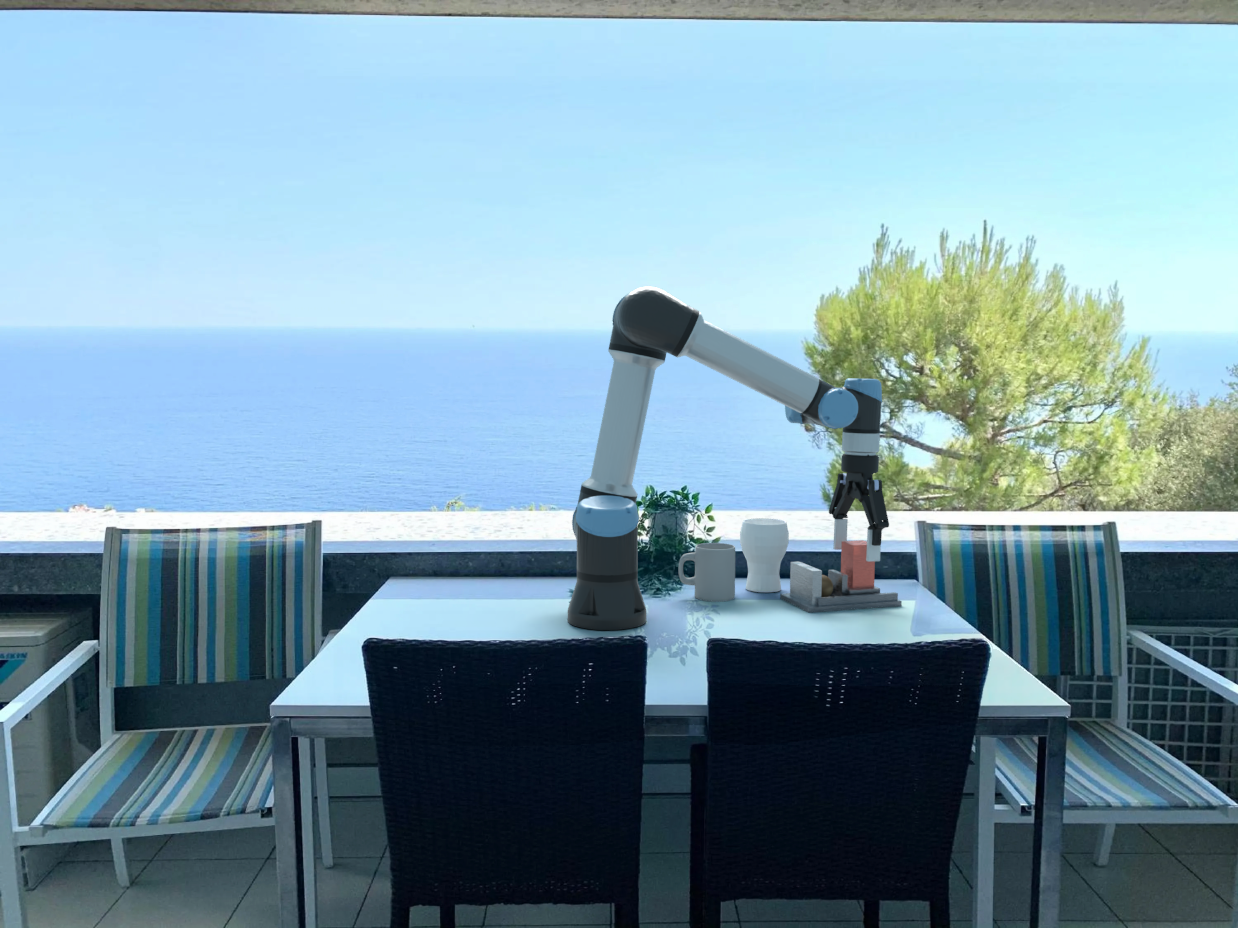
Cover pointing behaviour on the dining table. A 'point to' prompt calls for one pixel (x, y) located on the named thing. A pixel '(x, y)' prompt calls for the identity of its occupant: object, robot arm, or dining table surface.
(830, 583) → the nut
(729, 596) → the mug
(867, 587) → the block
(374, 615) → the dining table surface
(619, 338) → the robot arm
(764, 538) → the cup
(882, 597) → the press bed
